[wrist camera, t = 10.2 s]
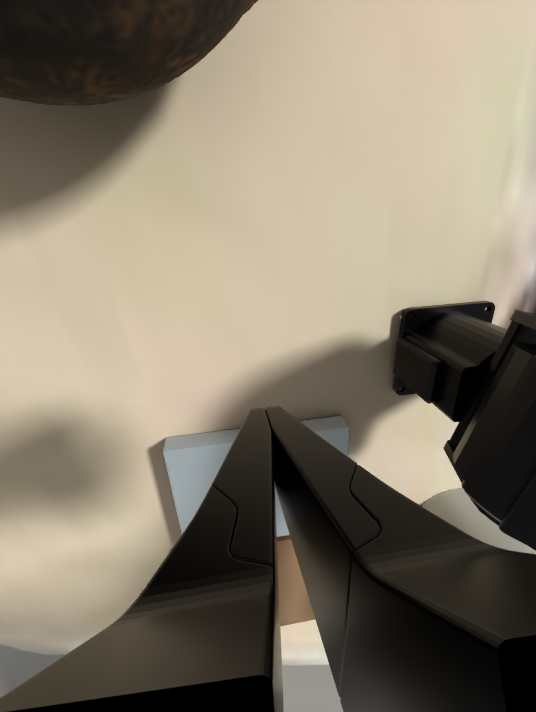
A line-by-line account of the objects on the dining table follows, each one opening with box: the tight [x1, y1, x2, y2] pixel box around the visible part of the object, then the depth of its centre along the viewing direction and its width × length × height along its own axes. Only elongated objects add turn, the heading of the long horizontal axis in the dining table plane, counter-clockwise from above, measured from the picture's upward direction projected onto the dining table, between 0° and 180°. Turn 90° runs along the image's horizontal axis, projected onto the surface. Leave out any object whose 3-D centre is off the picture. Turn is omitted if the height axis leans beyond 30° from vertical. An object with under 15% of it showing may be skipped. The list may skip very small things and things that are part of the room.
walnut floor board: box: [277, 535, 315, 626], centre depth 29 cm, size 14×12×2 cm
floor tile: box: [163, 416, 349, 537], centre depth 25 cm, size 13×10×2 cm
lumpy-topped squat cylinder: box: [422, 488, 536, 554], centre depth 28 cm, size 10×13×9 cm
